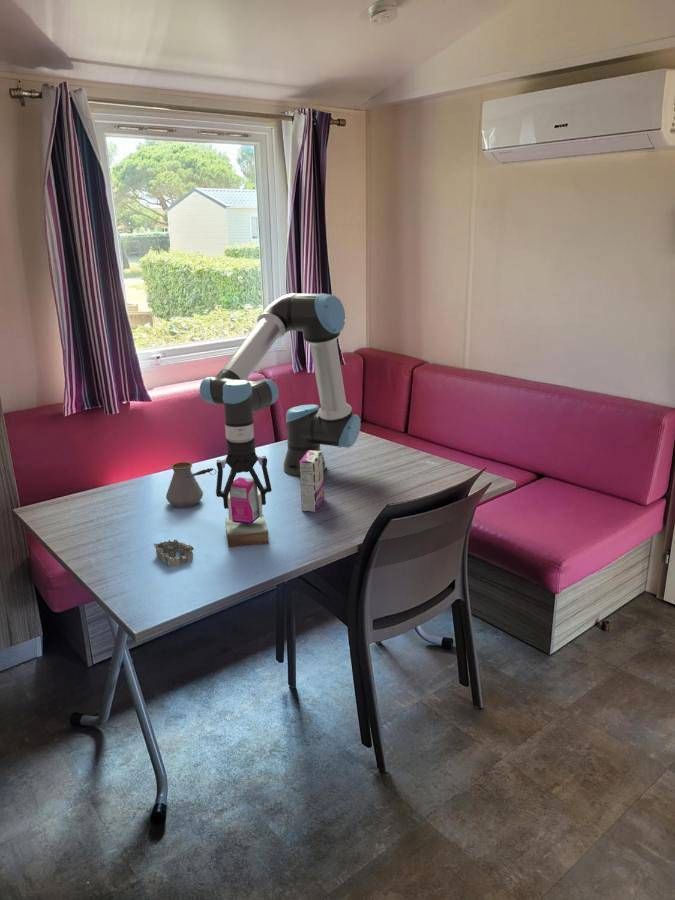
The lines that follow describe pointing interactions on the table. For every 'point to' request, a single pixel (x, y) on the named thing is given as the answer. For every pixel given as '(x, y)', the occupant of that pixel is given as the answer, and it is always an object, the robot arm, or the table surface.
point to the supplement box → (244, 501)
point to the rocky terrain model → (174, 552)
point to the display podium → (246, 533)
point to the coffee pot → (184, 486)
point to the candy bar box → (311, 480)
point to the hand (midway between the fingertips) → (245, 516)
